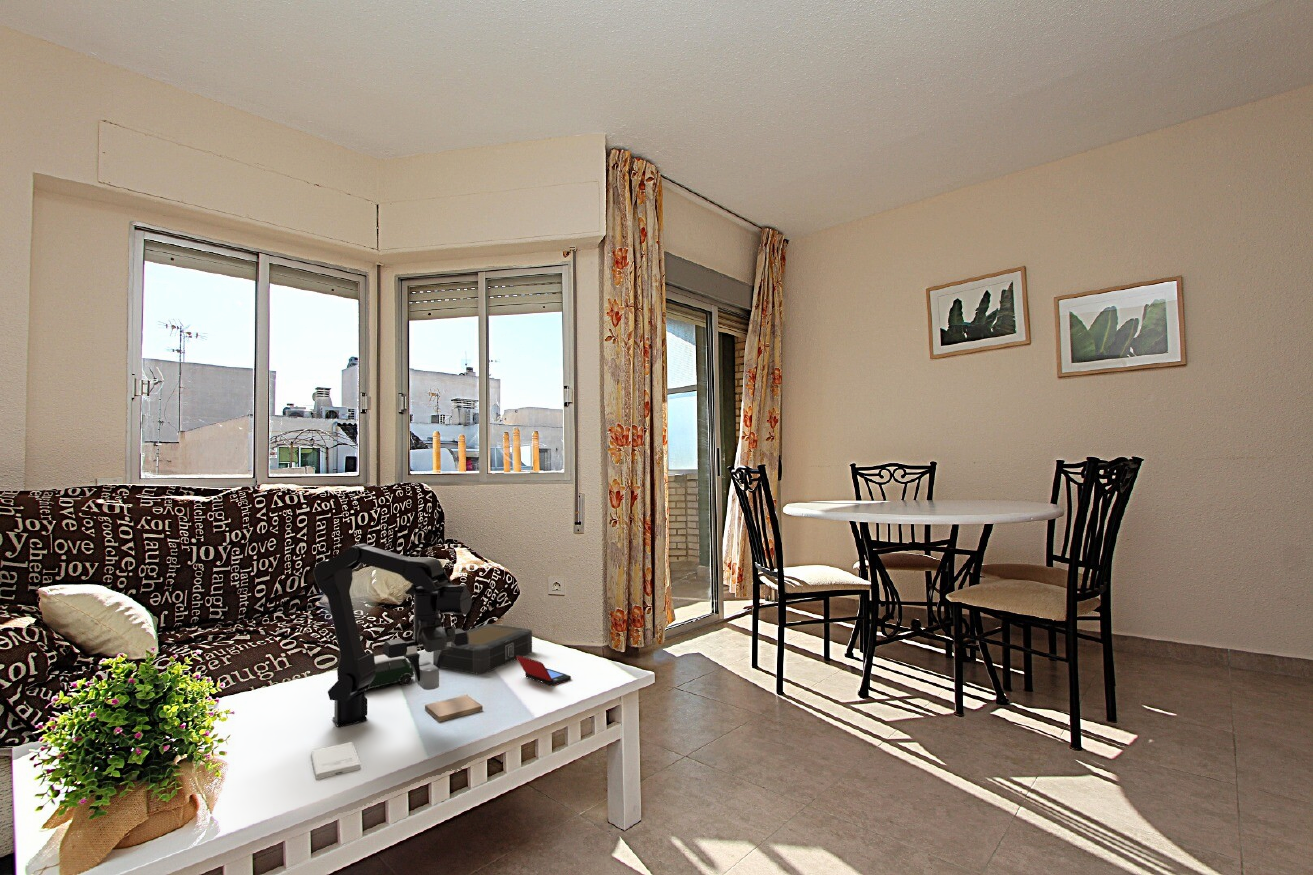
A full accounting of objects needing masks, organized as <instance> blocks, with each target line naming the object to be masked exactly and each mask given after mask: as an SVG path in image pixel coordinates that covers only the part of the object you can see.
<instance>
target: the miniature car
mask: <svg viewBox="0 0 1313 875" xmlns="http://www.w3.org/2000/svg"><path fill="white" fill-rule="evenodd" d="M374 660H375V664H376V666H377V669H376V676H375V678H374V679H373V681H372V682H371V684H370V687H369V689H371V688H376V687H381V686H385V685H389V684H395V683H398V682H399V683H400V684H401V685H403V686H406V685H410V684H411V681H412V680H413V679H412V678H415V674H414V672H413V669H412V666H411V664H410V662H409V660H408V659H407V658H405V657H404V656H401V657H395V658H388V657H387V656H386V655H385V654H384V653H383V654H379V655H374ZM364 692H365V693H366V690H365V691H364Z"/></svg>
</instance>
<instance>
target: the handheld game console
mask: <svg viewBox="0 0 1313 875" xmlns="http://www.w3.org/2000/svg"><path fill="white" fill-rule="evenodd" d="M516 657H517V659H516V660H517V661H518V662H519V664H520V666H521V668H522V669H523V672H524V673H525V675H524V676H526V677H525V678H527V677H528V678H527V679H530V678H531V679H530V680H533V679H534V681H537V680H539V681H538V682H540V681H542V682H543V683H542V682H541V683H542V684H544V683H545V685H547V684H548V686H550V685H553V686H556V685H559V684H562V683H565V682H568V680H569V681H570V680H571V679H572V677H571V675H569V674H566V673H563V672H560V671H558V670H554V669H550V668H548V667H547V668H546V666H545V665H544V663H542V662H541V661H538V660H535V659H532V658H528V657H526V656H519V655H517V656H516ZM564 681H565V682H564Z"/></svg>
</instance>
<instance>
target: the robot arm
mask: <svg viewBox="0 0 1313 875" xmlns="http://www.w3.org/2000/svg"><path fill="white" fill-rule="evenodd" d="M361 564H362V565H365V566H369V567H373V568H377V569H380V570H384V571H387V572H391V573H394V574H397V575H399V576H400V577H402V578H403V579H404V581H407V582H408V583H410V584H411V586H410V587H409V588H408V589H407V590H406V591H404V594H406V595H413V616H412V622H413V633H412V639H413V640H409V641H405V640H403V639H402V638H396V639H389V640H388V639H387V640H385V641H384V643H383V644H382V653H383V655H384V654H385V655H386V656H387V657H388V658H395V657H401V656H404V657H405V658H406V659H407V661H408V662H410V664H411V666H412V669H413V671H414V672H413V673H414V678H415V677H416V679H417V681H418V682H419V681H420V666H419V662H420V656H421V654H420V653H418V649H422V648H424V650H425V652H426V653H432V654H433V657H432V658H433V659H432V660H433V661H432V664H434V665H435V666H436V667H438V668H439V671H440V669H441V664H442V661H443V659H444V657H445V655H446V654H447V653H448V652H449V651H451V650H452V649H453V648H452V647H451V642H453V643H454V644H455V645H456V646H461V645H466V644H469V635H468V633H467V632H465V631H466V630H463V629H461V628H455V627H454V625H448V626H443V624H442V617H440V613H441V615H442V614H443V615H444V614H445V615H467V614H468V613H469V612H470V610H471V608H472V603H473V597H472V594H471V592H470V591H469V590H468V584H466V583H465V584H459V585H458V584H453V581H452V580H451V579H450V577H449V576H448V574H447V573H446V572H445V570H444V567H443V565H442V561H440V560H439V559H438V558H434V557H424V556H423V557H421V556H420V557H419V556H417V557H416V556H414V557H411V556H406V555H403V554H398V553H396V552H393V551H388V550H385V549H381V548H378V547H374V546H371V545H369V544H367V543H360V544H355V545H351V546H350V547H349V548H347V549H345V550H344V551H342V552H340V553H338V554H337V555H335V556H333V557H331V558H329V559H325V560H322V561H319V562H317V564H316V565H315V567H314V569H313V577H314V580H315V583H316V584H317V587H318V589H319V590H320V592H322V594H323V595H324V596H326V598H327V601H328V605H329V610H330V614H331V618H332V619H331V620H332V622H333V628H334V632H335V636H336V641H337V644H338V649H339V650H338V652H339V656H340V657H339V661H338V665H337V668H336V674H337V676H336V677H337V681H336V682H335V683H334V684H333V685H332V686H331V687H330V688H329V689H328V690H327V694H328V698H329V700H330V701H334V706H333V707H334V712H333V713H334V716H333V717H332V720H333V723H335V725H336V726H337V727H338V728H339V727H340V728H341V727H345V726H349V725H353V724H358V723H361V722H366V721H368V717H367V715H368V698H367V697H366V691H367V690H369V689H370V688H369V687H370V684H371V682H372V681H373V679H374V678H375V676H376V669H377V666H376V664H375V660H374V656H375V655H374V652H371V653H369V654H368V653H367V652H366V650H364V648H363V646H362V641H361V637H360V633H359V629H358V623H357V620H356V615H355V610H354V606H353V602H352V599H351V593H350V591H351V586H352V582H353V580H354V579H353V577H354V576H353V571H354V570H355V569H356V568H358V567H360V566H361ZM364 691H365V692H364Z"/></svg>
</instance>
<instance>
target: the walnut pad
mask: <svg viewBox="0 0 1313 875" xmlns="http://www.w3.org/2000/svg"><path fill="white" fill-rule="evenodd" d="M483 708H484V707H483V705H482V704H481V703H479V702H478V701H477V700H476V699H474V698H472V697H471V696H469V694H465V695H461V696H457V697H452V698H449V699H445V700H440V701H436V702H432V703H428V704H425V705H424V710H425V711H426V712H427V713H428V714H430V715H431V717H433V718H434V719H435V720H436V721H438V723H441V722H444V721H449V720H452V719H455V718H458V717H459V718H460V717H463V716H467V715H472V714H475V713H478V712H482V711H483V710H484V709H483Z"/></svg>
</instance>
